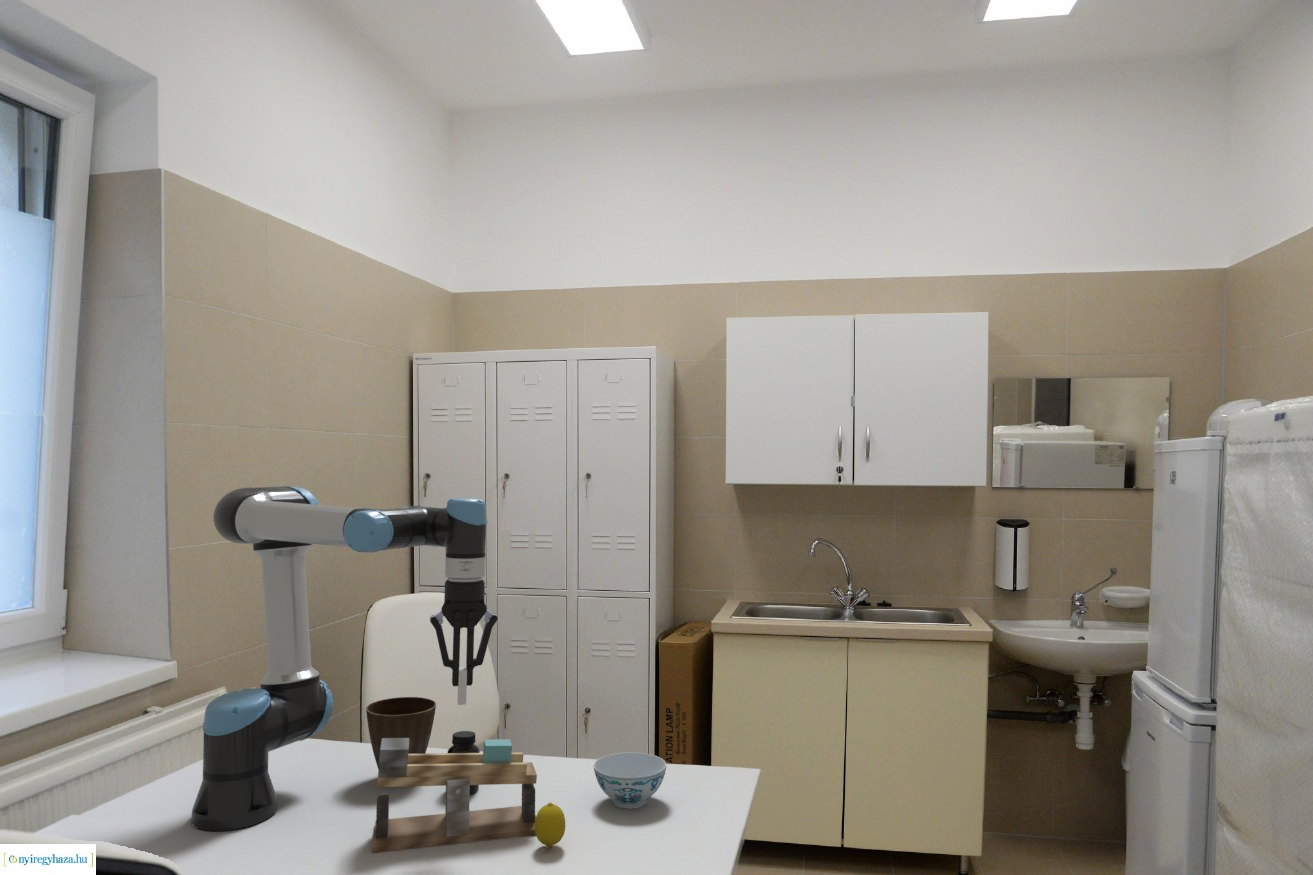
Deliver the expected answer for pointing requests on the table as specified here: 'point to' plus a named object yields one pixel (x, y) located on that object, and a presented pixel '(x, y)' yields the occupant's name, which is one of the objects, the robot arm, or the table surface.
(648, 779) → the chinaware
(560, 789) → the table surface
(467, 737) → the supplement bottle
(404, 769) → the beam
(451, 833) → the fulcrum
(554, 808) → the lemon
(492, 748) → the block
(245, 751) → the robot arm
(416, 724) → the plant pot
